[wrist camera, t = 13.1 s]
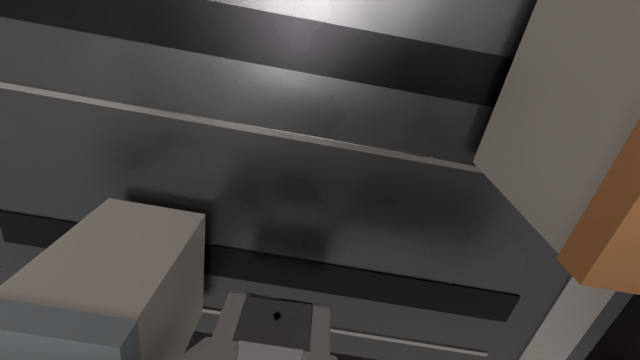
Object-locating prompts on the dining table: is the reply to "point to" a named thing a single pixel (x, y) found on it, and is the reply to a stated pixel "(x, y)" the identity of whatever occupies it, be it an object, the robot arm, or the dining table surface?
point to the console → (296, 161)
